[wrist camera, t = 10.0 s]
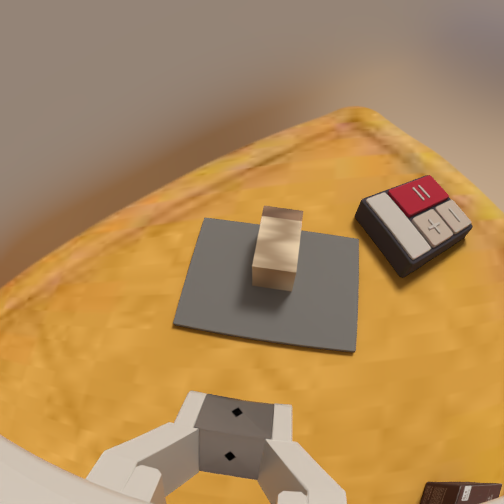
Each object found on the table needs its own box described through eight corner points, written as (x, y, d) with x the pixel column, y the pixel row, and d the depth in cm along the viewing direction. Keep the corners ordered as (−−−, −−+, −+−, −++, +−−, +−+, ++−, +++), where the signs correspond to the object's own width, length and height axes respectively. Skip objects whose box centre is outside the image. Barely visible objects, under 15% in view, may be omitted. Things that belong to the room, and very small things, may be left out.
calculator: (476, 223, 38) (414, 261, 34) (462, 240, 42) (400, 279, 38) (430, 170, 44) (361, 195, 40) (419, 189, 47) (352, 216, 43)
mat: (174, 324, 35) (173, 323, 35) (205, 220, 43) (204, 217, 42) (354, 352, 33) (355, 350, 33) (357, 241, 41) (358, 239, 40)
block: (252, 266, 33) (263, 205, 37) (252, 285, 37) (263, 228, 41) (296, 272, 33) (303, 211, 37) (291, 291, 37) (298, 233, 41)
